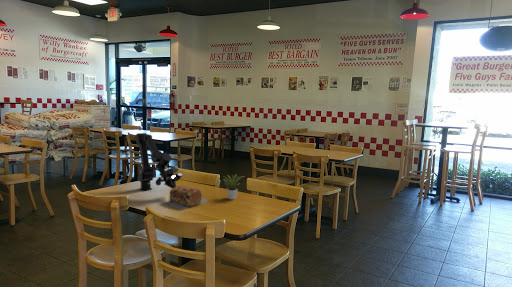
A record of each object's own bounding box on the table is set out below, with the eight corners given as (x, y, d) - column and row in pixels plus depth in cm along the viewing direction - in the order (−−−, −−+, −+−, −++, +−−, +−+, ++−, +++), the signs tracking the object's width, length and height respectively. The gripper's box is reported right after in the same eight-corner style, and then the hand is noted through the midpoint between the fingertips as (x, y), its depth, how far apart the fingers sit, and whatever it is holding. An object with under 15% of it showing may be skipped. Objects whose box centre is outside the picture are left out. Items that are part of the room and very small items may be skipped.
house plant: (241, 194, 247) (242, 171, 245) (247, 200, 234) (247, 175, 232) (220, 195, 243) (221, 171, 241) (225, 201, 230) (226, 176, 228)
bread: (201, 204, 221) (202, 188, 220) (188, 207, 213) (188, 191, 212) (182, 198, 233) (182, 182, 232) (168, 201, 225) (168, 185, 224)
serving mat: (160, 204, 220) (160, 203, 220) (188, 196, 240) (188, 195, 240) (182, 210, 210) (182, 209, 210) (209, 201, 230) (209, 200, 230)
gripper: (158, 164, 222) (171, 184, 217) (180, 160, 237) (192, 179, 233) (150, 175, 227) (162, 195, 222) (172, 170, 242) (183, 189, 238)
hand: (175, 189), depth 229 cm, fingers closed
